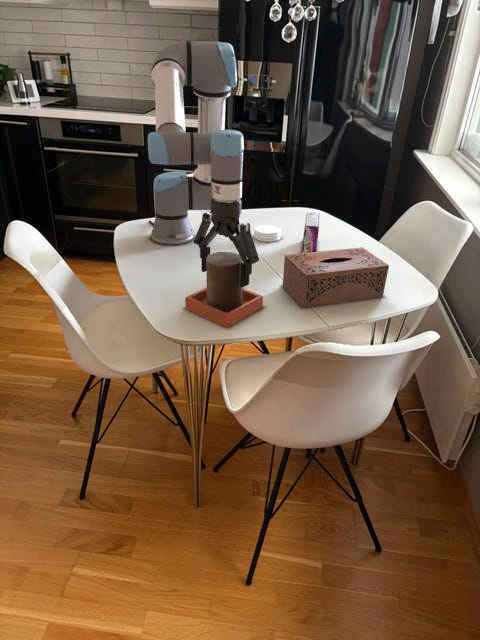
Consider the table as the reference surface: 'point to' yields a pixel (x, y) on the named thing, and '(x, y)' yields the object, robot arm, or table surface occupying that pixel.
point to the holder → (200, 307)
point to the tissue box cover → (334, 276)
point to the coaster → (267, 233)
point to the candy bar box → (310, 232)
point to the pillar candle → (224, 281)
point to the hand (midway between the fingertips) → (224, 278)
